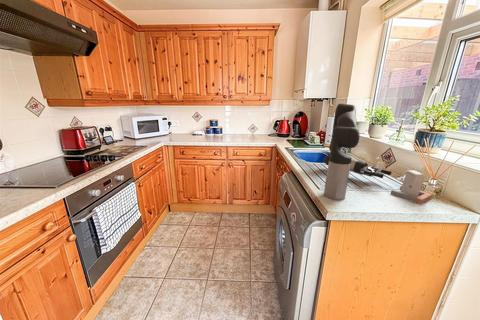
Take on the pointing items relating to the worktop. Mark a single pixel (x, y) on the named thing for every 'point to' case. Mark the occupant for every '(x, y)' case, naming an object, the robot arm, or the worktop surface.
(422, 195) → the channel
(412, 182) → the skincare box
